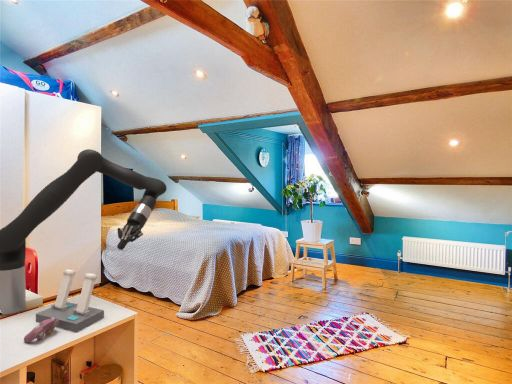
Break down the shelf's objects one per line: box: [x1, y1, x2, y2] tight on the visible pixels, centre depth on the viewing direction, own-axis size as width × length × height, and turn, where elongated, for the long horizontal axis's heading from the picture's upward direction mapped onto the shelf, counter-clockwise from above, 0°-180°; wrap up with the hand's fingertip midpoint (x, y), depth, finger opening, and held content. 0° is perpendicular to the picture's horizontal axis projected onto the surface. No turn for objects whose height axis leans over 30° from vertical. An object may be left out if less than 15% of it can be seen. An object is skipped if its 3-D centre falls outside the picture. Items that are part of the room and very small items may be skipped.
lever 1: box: [54, 268, 76, 309], centre depth 123 cm, size 4×2×14 cm, turn 70°
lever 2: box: [76, 272, 98, 314], centre depth 119 cm, size 4×2×14 cm, turn 70°
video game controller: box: [23, 317, 60, 344], centre depth 107 cm, size 10×5×7 cm, turn 169°
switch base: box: [35, 301, 105, 333], centre depth 119 cm, size 20×12×5 cm, turn 70°
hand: (119, 248), depth 133 cm, fingers closed
